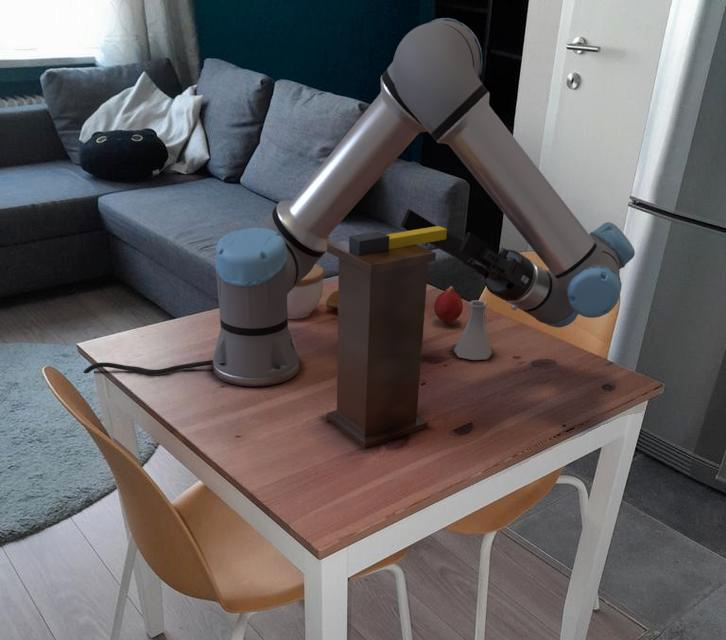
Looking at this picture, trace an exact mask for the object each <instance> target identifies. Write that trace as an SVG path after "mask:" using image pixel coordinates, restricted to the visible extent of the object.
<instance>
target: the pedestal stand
mask: <svg viewBox="0 0 726 640" xmlns="http://www.w3.org/2000/svg"><path fill="white" fill-rule="evenodd" d="M384 234H385V235H387V234H392V233H391V232H387V233H384ZM326 252H327V253H329V254H331V255H333V256H335V257H337V258H338V282H337V285H338V287H337V288H338V289H337V290H338V309H337V358H336V359H337V360H336V361H337V365H336V366H337V367H336V369H337V370H336V373H337V374H336V410H333V411H330V412H327V413H325V414H326V415H325V418H326V420H328V422H330V423H331V424H333V425H334V426H335V427H336V428H338V429H339V430H340V431H342V432H343V433H345V434H346V435H347V436H349V437H350V439H353V440H354V441H355V442H356V443H358V444H359V445H360V446H361V447H363V448H364V449H367V448H370V447H374V446H376V445H379V444H382V443H385V442H388V441H391V440H395V439H398V438H400V437H401V438H402V437H404V436H406V435H411V434H413V433H416V432H418V431H422V430H425V429H428V421H426V420H424V419H423V418H421V417H419V416H418V405H419V391H420V381H421V379H420V378H421V365H422V364H421V363H422V351H423V341H424V340H423V339H424V324H425V310H426V301H427V300H426V299H427V287H428V286H427V285H428V272H429V263H434V262H436V258H437V257H436V256H437V253H436V252H435V251H433V250H430V249H428V248H426V247H423V246H421V245H420V244H417V245H412V246H406V247H400V248H395V249H389V250H388V251H382V252H377V253H371V254H366V255H360V256H359V255H357V254H355V253H353V252H351V251H349V239H347V240H340V241H335V242H330V243H328V244H327V251H326Z"/></svg>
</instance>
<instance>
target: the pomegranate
mask: <svg viewBox="0 0 726 640" xmlns="http://www.w3.org/2000/svg"><path fill="white" fill-rule="evenodd" d="M463 309H464V302H463V300H462V298H461V296H460V295H459V294H458V293H457V292H456V291H455V290H454V287H453V286H449V287H448V288H447V289H445V290H444V291H442V292H441V293H439V294H438V296H436V298H435V301H434V305H433V311H434V314H435V316H436V317H437V318H438V319H439V320H440V321H441V322H443V323H444V324H445V325H451V324H452V323H453V322H455V321H456V320H457V319H459V318H460V316H461V315H462V313H463Z"/></svg>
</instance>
